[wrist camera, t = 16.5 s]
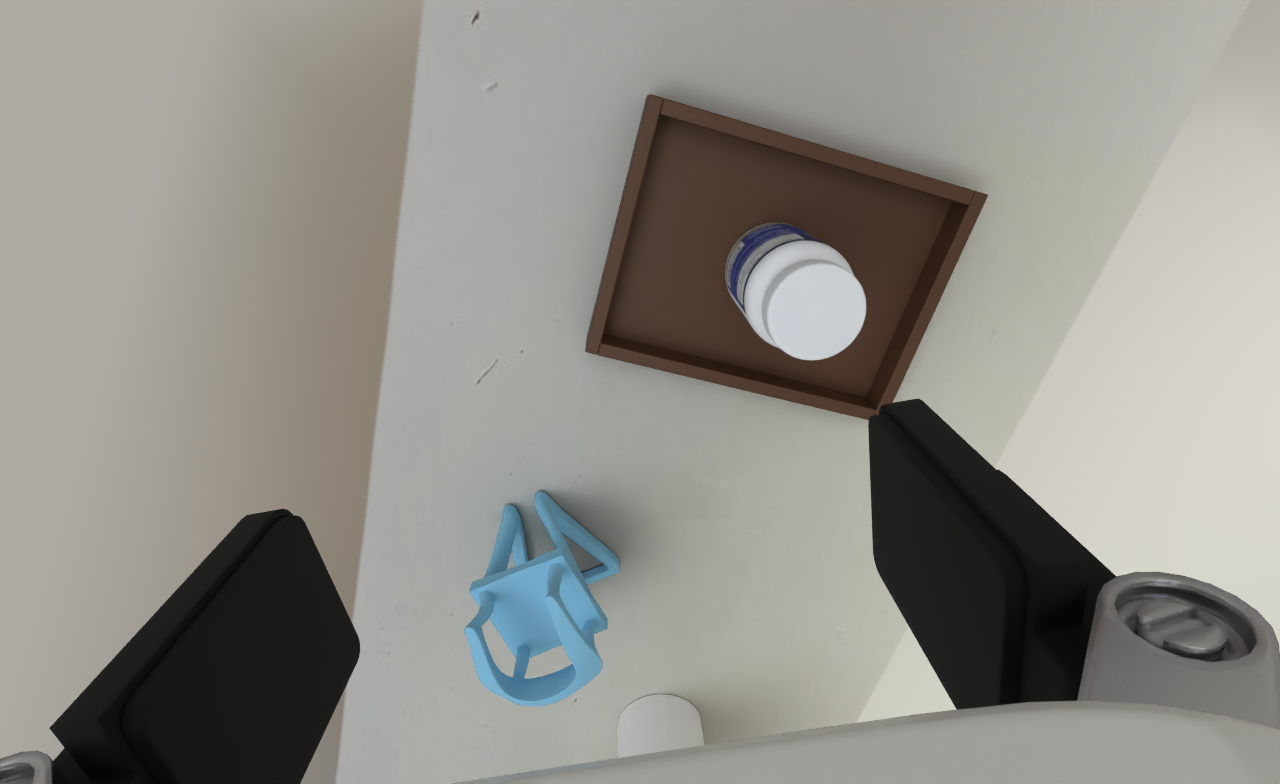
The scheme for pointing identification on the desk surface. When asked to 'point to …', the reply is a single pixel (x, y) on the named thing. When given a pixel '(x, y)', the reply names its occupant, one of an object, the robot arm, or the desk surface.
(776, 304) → the pill bottle
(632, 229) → the tray
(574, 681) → the chair
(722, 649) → the desk surface
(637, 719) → the cylindrical container
